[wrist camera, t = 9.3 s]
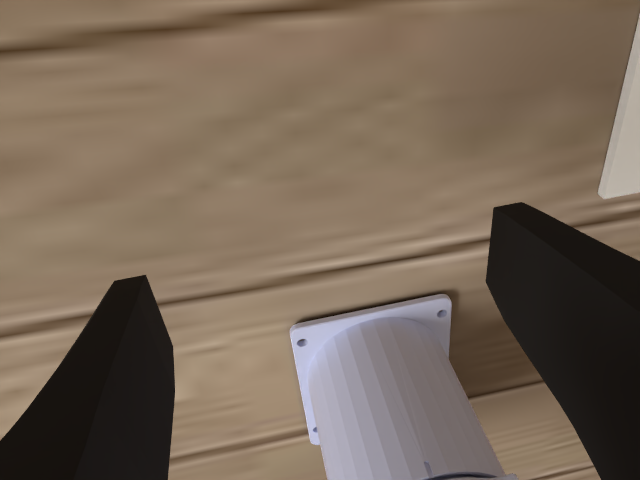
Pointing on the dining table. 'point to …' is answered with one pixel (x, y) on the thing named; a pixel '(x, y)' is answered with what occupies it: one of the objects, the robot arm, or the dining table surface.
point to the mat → (625, 134)
